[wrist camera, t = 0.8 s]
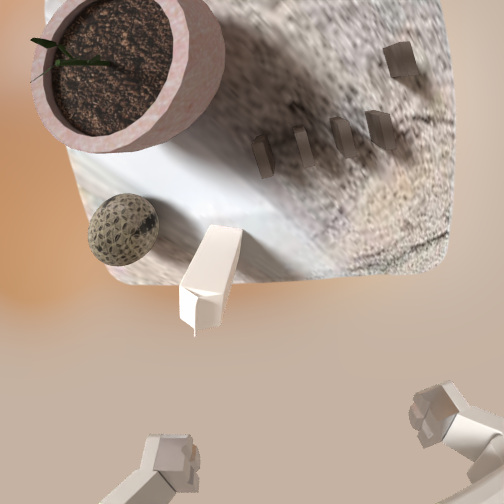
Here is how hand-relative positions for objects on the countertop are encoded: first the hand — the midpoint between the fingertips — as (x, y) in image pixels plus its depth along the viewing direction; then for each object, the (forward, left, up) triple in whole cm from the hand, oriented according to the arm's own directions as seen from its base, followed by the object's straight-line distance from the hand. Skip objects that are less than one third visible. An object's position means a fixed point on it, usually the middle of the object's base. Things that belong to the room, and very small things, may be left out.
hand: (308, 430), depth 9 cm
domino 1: (-2, -4, -44) cm, 44 cm away
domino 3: (-2, +8, -44) cm, 45 cm away
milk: (+12, -16, -44) cm, 49 cm away
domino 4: (-2, +14, -44) cm, 46 cm away
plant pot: (-21, -15, -44) cm, 51 cm away
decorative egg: (+2, -30, -44) cm, 53 cm away
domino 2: (-2, +2, -44) cm, 44 cm away
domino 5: (-12, +20, -44) cm, 50 cm away
